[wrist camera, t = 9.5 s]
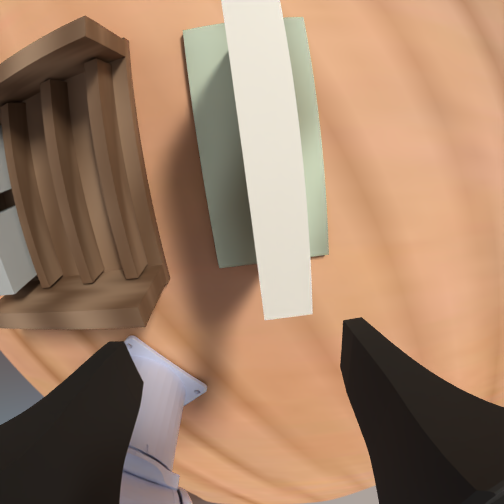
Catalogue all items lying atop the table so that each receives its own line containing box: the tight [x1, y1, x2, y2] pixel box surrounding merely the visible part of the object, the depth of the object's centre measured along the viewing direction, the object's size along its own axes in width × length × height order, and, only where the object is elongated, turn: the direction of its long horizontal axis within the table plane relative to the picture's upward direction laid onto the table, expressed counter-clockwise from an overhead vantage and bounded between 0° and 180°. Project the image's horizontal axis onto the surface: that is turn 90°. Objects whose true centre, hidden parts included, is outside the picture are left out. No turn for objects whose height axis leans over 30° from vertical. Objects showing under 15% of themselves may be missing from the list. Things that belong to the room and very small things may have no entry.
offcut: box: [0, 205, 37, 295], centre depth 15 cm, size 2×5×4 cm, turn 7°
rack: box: [0, 16, 329, 329], centre depth 14 cm, size 24×16×6 cm, turn 97°
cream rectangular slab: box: [221, 0, 313, 320], centre depth 12 cm, size 2×12×8 cm, turn 7°
